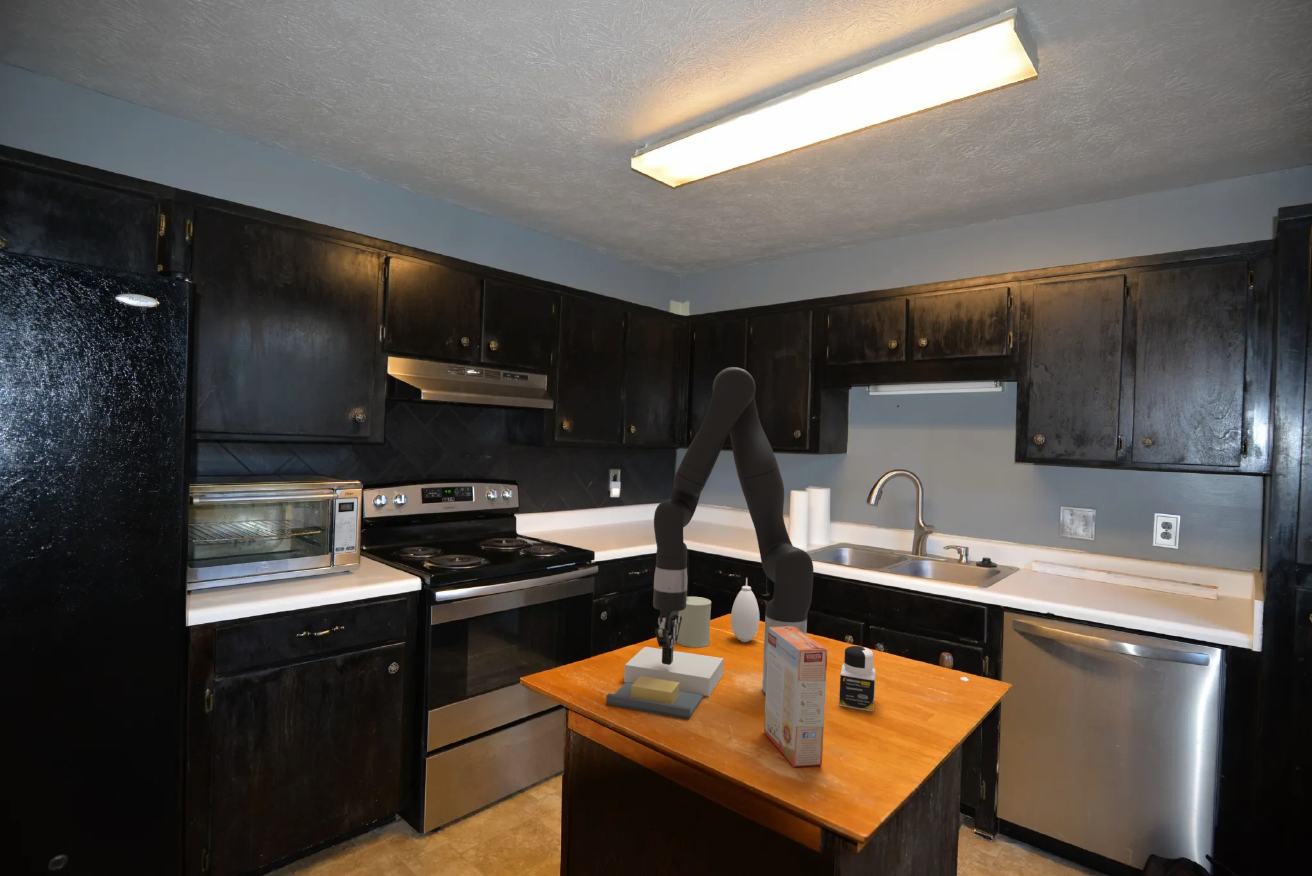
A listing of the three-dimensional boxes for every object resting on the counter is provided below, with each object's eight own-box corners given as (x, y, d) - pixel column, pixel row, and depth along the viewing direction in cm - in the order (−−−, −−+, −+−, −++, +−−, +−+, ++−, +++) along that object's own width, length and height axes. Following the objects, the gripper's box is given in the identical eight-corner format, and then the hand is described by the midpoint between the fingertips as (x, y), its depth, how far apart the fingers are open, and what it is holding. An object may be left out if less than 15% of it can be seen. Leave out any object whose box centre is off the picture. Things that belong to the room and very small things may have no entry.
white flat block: (722, 674, 157) (723, 658, 157) (708, 696, 143) (709, 678, 143) (644, 662, 163) (645, 646, 163) (624, 682, 150) (624, 664, 150)
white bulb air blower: (751, 647, 178) (754, 581, 178) (725, 641, 182) (728, 577, 182) (762, 640, 185) (765, 577, 184) (737, 635, 188) (739, 573, 188)
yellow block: (671, 692, 136) (671, 707, 136) (679, 682, 141) (679, 696, 141) (631, 685, 138) (630, 699, 138) (640, 676, 144) (640, 689, 144)
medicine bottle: (838, 706, 141) (841, 651, 141) (841, 694, 148) (843, 641, 148) (873, 712, 138) (875, 656, 138) (874, 699, 145) (876, 646, 145)
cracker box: (824, 766, 115) (829, 648, 114) (792, 769, 113) (797, 649, 113) (791, 730, 128) (796, 624, 128) (762, 732, 127) (767, 625, 127)
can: (678, 635, 186) (680, 593, 186) (710, 638, 185) (712, 596, 184) (674, 645, 177) (676, 601, 177) (708, 648, 175) (710, 604, 175)
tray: (703, 697, 143) (703, 688, 143) (688, 719, 131) (689, 709, 131) (626, 684, 148) (627, 675, 148) (606, 704, 137) (606, 695, 137)
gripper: (677, 595, 140) (674, 675, 140) (694, 583, 152) (691, 656, 152) (644, 591, 142) (641, 670, 142) (663, 579, 155) (660, 652, 155)
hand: (667, 663), depth 147 cm, fingers closed
